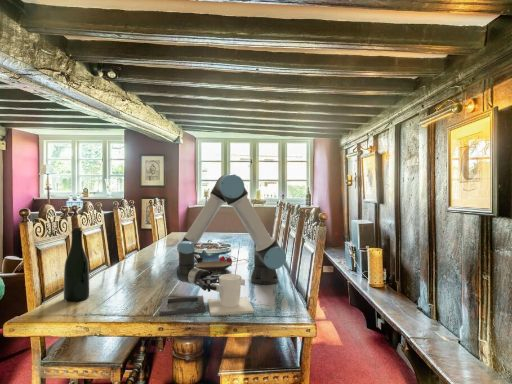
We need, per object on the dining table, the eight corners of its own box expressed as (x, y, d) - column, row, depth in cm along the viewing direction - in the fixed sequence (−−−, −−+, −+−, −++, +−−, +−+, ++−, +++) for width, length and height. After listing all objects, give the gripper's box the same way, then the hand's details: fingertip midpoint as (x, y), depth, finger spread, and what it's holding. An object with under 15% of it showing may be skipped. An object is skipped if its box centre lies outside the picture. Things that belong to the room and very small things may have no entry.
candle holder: (237, 309, 144) (238, 280, 144) (215, 307, 146) (215, 278, 146) (243, 301, 153) (243, 274, 153) (222, 299, 155) (222, 273, 155)
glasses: (218, 262, 240) (218, 255, 240) (236, 259, 251) (236, 252, 251) (231, 265, 230) (231, 258, 230) (249, 262, 241) (249, 255, 241)
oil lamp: (201, 278, 197) (201, 264, 197) (187, 267, 224) (188, 255, 224) (237, 274, 207) (237, 261, 207) (220, 264, 234) (220, 252, 234)
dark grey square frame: (202, 298, 160) (202, 295, 160) (204, 312, 142) (204, 308, 142) (162, 300, 156) (162, 297, 156) (159, 315, 139) (159, 311, 139)
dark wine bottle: (71, 294, 164) (72, 225, 164) (93, 295, 164) (93, 225, 163) (58, 302, 153) (58, 228, 153) (81, 302, 153) (81, 228, 153)
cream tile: (246, 299, 160) (246, 296, 160) (254, 312, 142) (254, 310, 142) (207, 301, 156) (207, 299, 156) (210, 315, 139) (210, 313, 139)
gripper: (218, 280, 171) (252, 288, 158) (178, 291, 151) (212, 301, 138) (219, 265, 171) (252, 271, 157) (178, 274, 151) (213, 283, 138)
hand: (234, 285), depth 148 cm, fingers open, 13 cm apart
